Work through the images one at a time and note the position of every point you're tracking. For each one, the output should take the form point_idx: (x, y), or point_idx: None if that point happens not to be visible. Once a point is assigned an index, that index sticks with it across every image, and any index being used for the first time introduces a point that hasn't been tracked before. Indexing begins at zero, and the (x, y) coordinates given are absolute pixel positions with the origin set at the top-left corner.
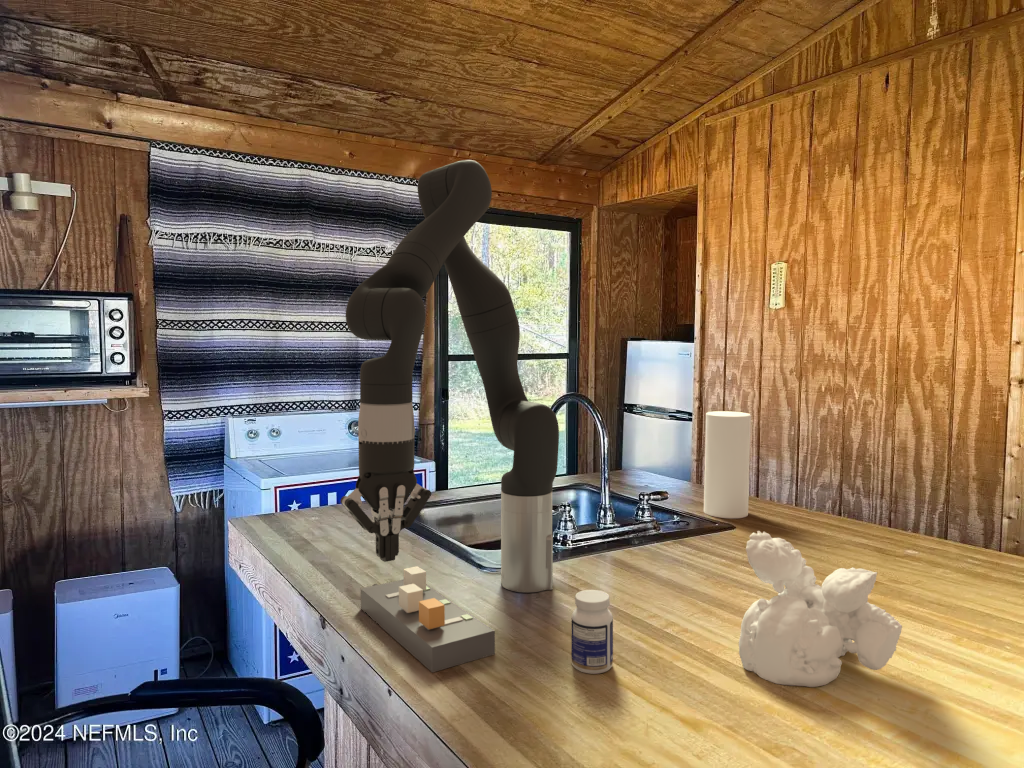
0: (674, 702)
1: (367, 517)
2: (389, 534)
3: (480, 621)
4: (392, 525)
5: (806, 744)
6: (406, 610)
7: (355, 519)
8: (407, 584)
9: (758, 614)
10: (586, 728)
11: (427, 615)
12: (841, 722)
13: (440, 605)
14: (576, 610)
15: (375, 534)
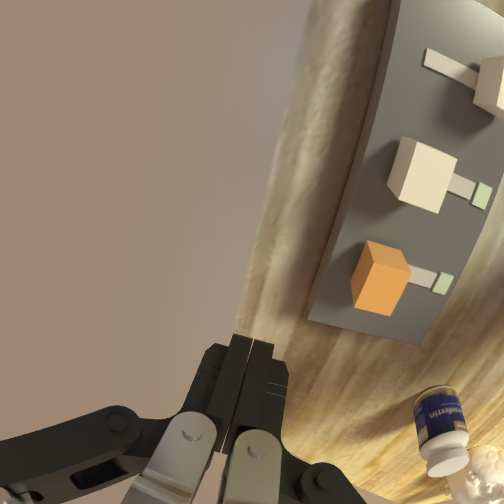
0: (396, 451)
1: (87, 490)
2: (225, 447)
3: (439, 310)
4: (218, 491)
5: (381, 487)
6: (389, 178)
7: (52, 430)
8: (483, 79)
9: (484, 483)
10: (320, 438)
11: (354, 291)
12: (415, 486)
13: (382, 313)
14: (438, 447)
15: (180, 410)
